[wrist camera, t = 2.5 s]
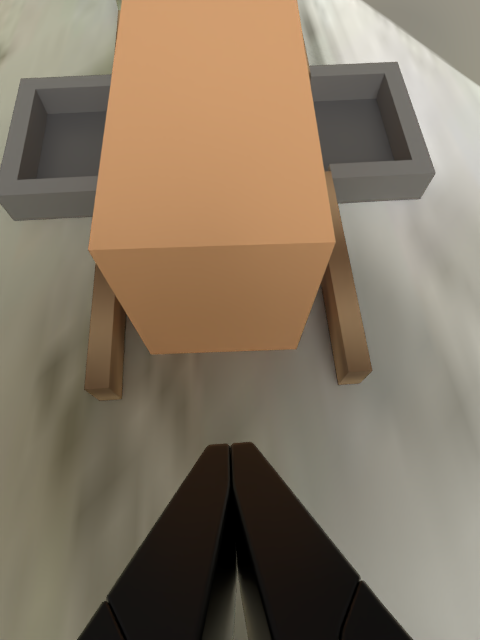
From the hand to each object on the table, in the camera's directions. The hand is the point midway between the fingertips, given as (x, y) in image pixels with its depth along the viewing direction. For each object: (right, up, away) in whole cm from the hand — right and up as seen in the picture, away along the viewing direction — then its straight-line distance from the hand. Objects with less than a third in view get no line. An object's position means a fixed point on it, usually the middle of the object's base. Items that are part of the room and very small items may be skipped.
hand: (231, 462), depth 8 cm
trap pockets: (-1, +13, +17) cm, 22 cm away
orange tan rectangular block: (-1, +8, +15) cm, 17 cm away
